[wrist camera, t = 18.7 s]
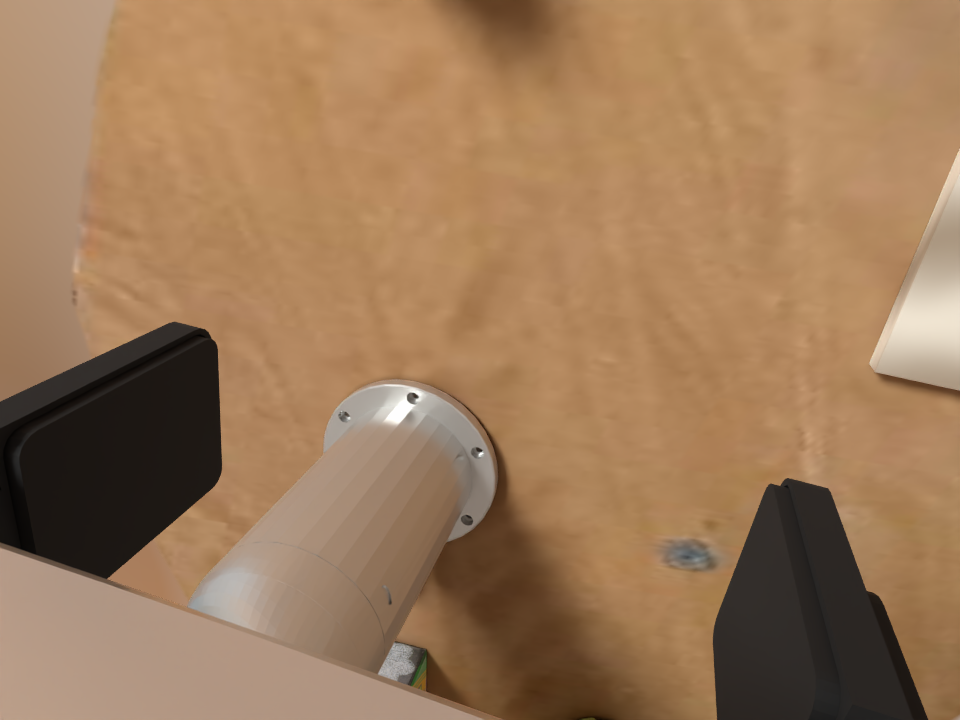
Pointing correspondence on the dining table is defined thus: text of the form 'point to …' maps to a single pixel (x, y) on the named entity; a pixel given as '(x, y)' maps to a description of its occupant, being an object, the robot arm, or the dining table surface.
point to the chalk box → (406, 665)
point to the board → (928, 302)
